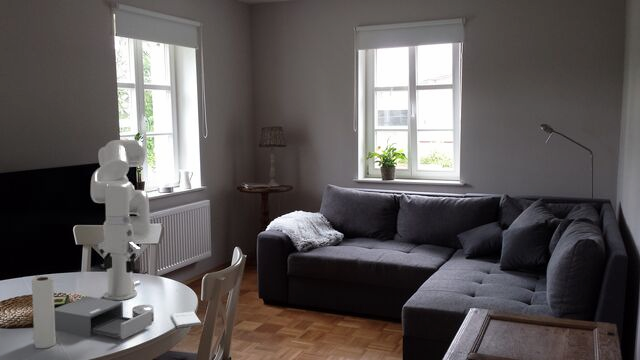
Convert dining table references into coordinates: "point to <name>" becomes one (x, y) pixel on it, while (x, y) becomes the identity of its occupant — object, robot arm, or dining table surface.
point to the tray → (122, 325)
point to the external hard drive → (185, 319)
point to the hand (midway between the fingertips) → (119, 270)
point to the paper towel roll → (43, 311)
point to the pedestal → (152, 316)
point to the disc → (141, 309)
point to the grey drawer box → (85, 315)
